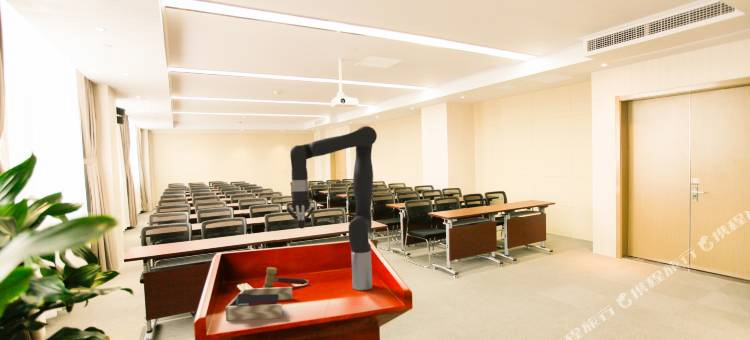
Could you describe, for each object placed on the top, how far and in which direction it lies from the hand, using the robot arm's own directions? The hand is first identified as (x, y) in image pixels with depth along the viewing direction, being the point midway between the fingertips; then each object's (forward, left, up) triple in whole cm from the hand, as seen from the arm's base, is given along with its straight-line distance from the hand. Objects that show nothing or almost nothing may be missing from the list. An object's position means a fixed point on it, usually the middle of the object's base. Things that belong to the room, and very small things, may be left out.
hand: (301, 228), depth 169 cm
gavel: (+10, -6, -31) cm, 33 cm away
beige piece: (+14, +17, -29) cm, 37 cm away
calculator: (+8, +19, -25) cm, 32 cm away
